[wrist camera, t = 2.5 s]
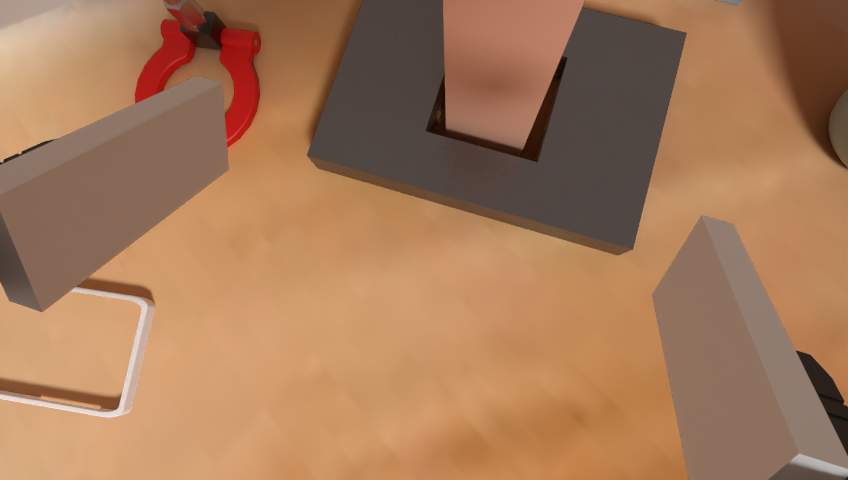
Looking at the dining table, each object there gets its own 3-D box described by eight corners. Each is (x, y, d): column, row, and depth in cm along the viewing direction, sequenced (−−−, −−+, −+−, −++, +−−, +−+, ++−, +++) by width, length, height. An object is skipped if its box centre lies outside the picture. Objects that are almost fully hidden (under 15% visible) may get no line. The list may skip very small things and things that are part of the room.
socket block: (668, 54, 32) (686, 32, 30) (618, 255, 30) (632, 249, 28) (383, -16, 34) (378, -42, 32) (317, 168, 32) (306, 155, 30)
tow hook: (247, 167, 33) (276, 40, 34) (116, 84, 20) (168, -115, 21) (132, 148, 34) (163, 24, 35) (-65, 57, 21) (-6, -136, 22)
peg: (540, 87, 32) (624, -136, 17) (519, 156, 32) (588, -8, 16) (467, 68, 33) (483, -165, 17) (446, 136, 32) (442, -43, 16)
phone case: (161, 299, 32) (-48, 267, 33) (148, 298, 31) (-70, 265, 32) (134, 415, 31) (-82, 378, 32) (120, 420, 29) (-105, 380, 31)
